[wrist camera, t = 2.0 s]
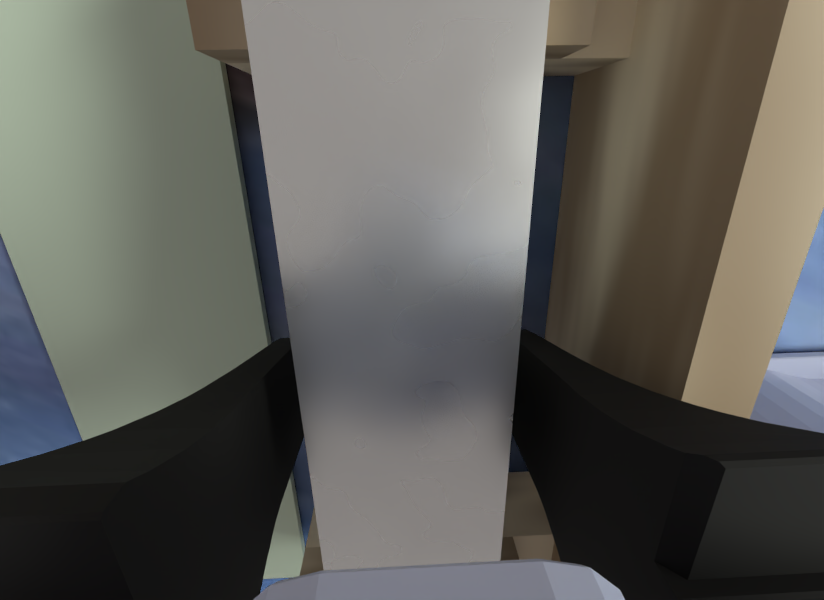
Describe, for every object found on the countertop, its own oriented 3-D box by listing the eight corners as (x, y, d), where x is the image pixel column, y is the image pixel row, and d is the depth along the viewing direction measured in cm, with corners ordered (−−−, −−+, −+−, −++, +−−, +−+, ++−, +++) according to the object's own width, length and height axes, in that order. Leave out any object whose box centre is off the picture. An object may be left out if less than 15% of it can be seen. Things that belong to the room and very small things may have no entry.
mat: (187, -168, 10) (178, -181, 9) (308, 568, 19) (306, 576, 19) (-143, -170, 9) (-166, -183, 9) (145, 577, 19) (140, 585, 19)
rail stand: (663, -180, 10) (1163, -763, 4) (550, 558, 20) (627, 766, 13) (230, -182, 10) (-103, -835, 3) (331, 570, 19) (300, 789, 13)
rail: (494, -151, 8) (586, -410, 4) (463, 602, 16) (484, 743, 12) (282, -152, 8) (180, -419, 4) (360, 609, 16) (349, 753, 12)
